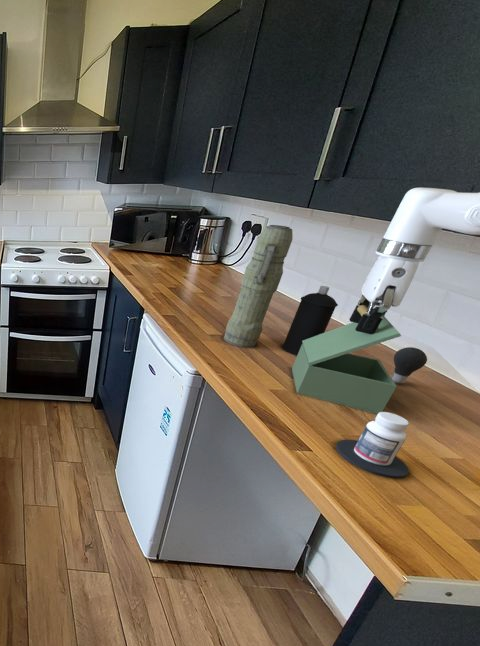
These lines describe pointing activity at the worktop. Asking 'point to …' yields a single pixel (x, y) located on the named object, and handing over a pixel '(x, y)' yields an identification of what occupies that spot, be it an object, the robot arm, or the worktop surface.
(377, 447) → the pill bottle
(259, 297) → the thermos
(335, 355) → the chest lid
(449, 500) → the worktop surface
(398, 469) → the coaster
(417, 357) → the light bulb
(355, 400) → the chest
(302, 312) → the aerosol can
